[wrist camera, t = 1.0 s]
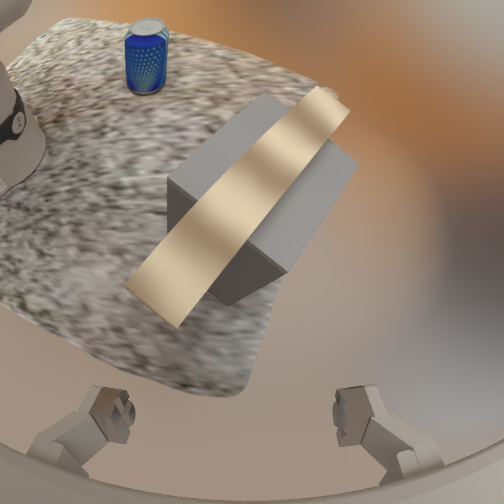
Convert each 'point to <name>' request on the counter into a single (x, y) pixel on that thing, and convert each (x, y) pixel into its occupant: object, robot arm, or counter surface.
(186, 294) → the maple bar
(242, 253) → the charcoal stand
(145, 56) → the beer can
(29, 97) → the counter surface
